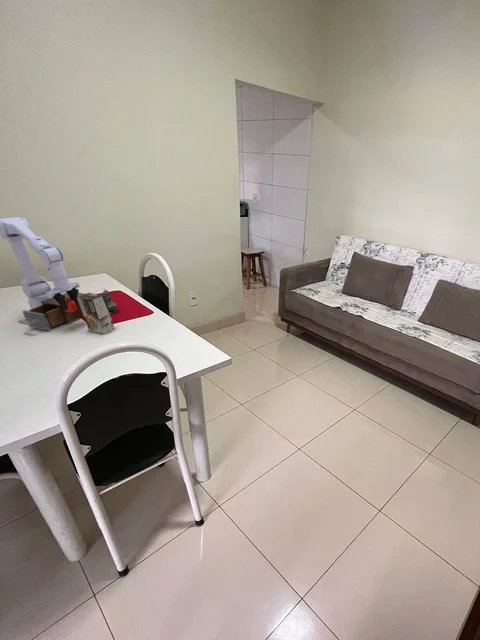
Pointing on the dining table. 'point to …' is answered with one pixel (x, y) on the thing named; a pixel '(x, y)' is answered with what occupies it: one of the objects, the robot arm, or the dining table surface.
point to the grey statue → (109, 302)
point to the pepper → (70, 305)
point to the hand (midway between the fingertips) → (70, 307)
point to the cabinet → (68, 315)
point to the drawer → (43, 316)
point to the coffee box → (96, 312)
